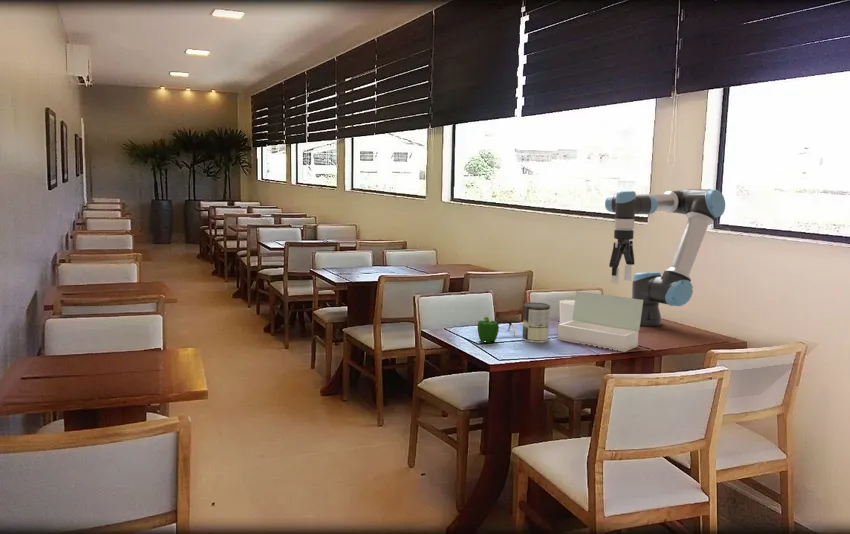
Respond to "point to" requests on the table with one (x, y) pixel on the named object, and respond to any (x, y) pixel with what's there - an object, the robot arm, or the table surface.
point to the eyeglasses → (509, 326)
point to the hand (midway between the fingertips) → (621, 281)
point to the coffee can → (536, 322)
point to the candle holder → (566, 310)
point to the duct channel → (598, 335)
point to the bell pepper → (488, 330)
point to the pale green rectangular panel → (608, 310)
